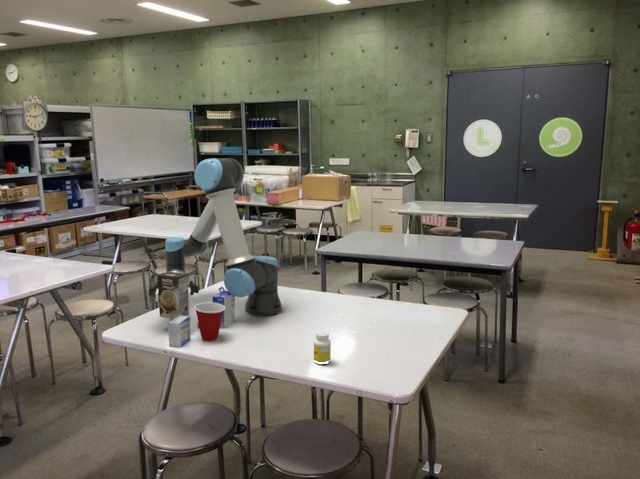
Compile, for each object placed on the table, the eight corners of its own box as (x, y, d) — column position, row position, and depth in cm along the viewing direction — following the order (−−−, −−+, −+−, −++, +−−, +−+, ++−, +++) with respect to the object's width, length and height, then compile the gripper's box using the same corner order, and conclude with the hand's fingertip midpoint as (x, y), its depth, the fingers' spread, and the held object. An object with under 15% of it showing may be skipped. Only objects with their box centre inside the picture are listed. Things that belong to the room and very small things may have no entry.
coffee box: (158, 317, 193) (156, 274, 190) (170, 312, 199) (168, 270, 196) (179, 320, 190) (177, 277, 187) (190, 315, 196) (188, 273, 193)
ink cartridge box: (222, 319, 209) (223, 284, 207) (235, 321, 207) (236, 285, 205) (211, 327, 199) (212, 289, 197) (224, 329, 198) (225, 291, 196)
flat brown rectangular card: (210, 322, 205) (210, 321, 205) (210, 328, 198) (210, 327, 198) (197, 322, 204) (197, 321, 204) (197, 329, 197) (197, 328, 197)
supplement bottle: (313, 358, 172) (313, 330, 171) (329, 358, 173) (330, 330, 171) (314, 365, 167) (314, 336, 165) (331, 365, 168) (331, 336, 166)
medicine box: (180, 347, 179) (179, 323, 178) (168, 346, 180) (167, 322, 179) (190, 339, 187) (190, 316, 185) (179, 338, 188) (178, 314, 186)
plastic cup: (225, 343, 184) (225, 310, 182) (193, 344, 182) (193, 311, 180) (225, 332, 194) (225, 301, 192) (195, 333, 193) (195, 301, 190)
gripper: (204, 288, 214) (206, 305, 192) (145, 291, 208) (139, 308, 187) (204, 270, 212) (205, 285, 191) (144, 273, 207) (138, 288, 186)
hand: (173, 296), depth 189 cm, fingers closed on coffee box, 10 cm apart
